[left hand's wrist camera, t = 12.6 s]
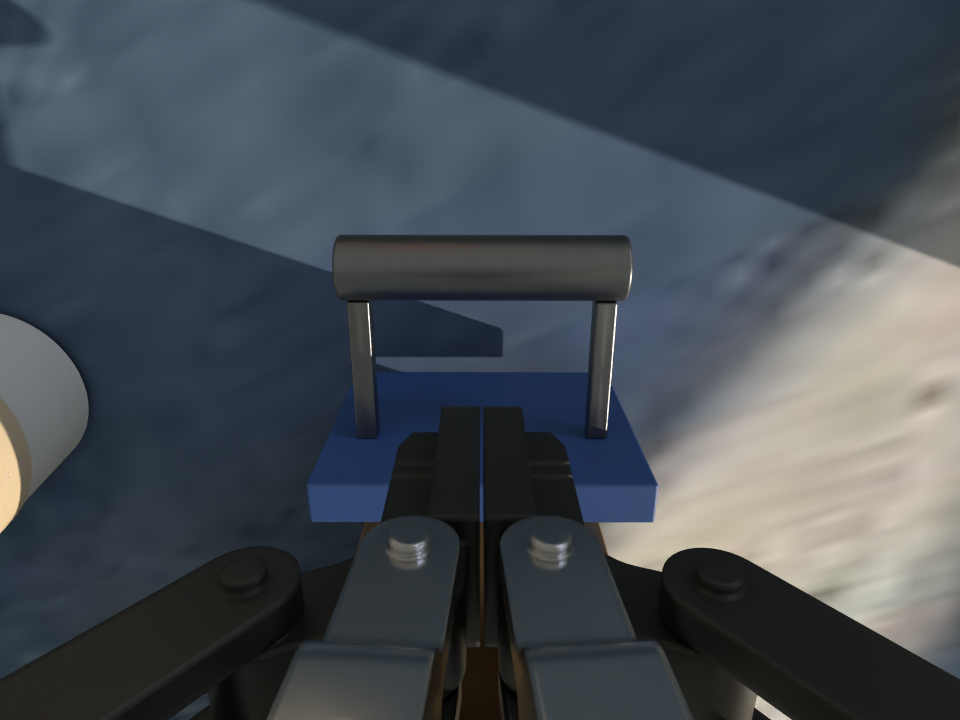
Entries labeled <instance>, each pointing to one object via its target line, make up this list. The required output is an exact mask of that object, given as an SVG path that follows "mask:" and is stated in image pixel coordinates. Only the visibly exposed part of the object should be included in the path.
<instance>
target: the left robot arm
mask: <svg viewBox="0 0 960 720" xmlns="http://www.w3.org/2000/svg"><path fill="white" fill-rule="evenodd" d="M483 544H484V647H498V664H499V671H498V698H499V706H500V714H501V720H770V719H769V718H768V717H766V716H765V715H764V714H762V713H761V712H760V711H758V710H757V709H756V708H754V707H755V702H756V697H757V695H758V696H760V697H761V698H763V699H764V700H765V701H767V702H768V703H770V704H771V705H772V706H774V707H775V708H776V709H778V710H779V711H781V712H782V713H783V714H785V715H786V716H788V717H789V718H790V719H792V720H960V679H958V678H956V677H954V676H953V675H951V674H949V673H947V672H946V671H944V670H942V669H940V668H938V667H937V666H935V665H933V664H931V663H930V662H928V661H926V660H924V659H922V658H921V657H919V656H917V655H915V654H914V653H912V652H910V651H908V650H907V649H905V648H903V647H901V646H899V645H898V644H896V643H894V642H892V641H891V640H889V639H887V638H885V637H883V636H882V635H880V634H878V633H876V632H875V631H873V630H871V629H869V628H867V627H866V626H864V625H862V624H860V623H859V622H857V621H855V620H853V619H851V618H850V617H848V616H846V615H844V614H843V613H841V612H839V611H837V610H835V609H834V608H832V607H830V606H828V605H827V604H825V603H823V602H821V601H819V600H818V599H816V598H814V597H812V596H811V595H809V594H807V593H805V592H803V591H802V590H800V589H798V588H796V587H795V586H793V585H791V584H789V583H787V582H786V581H784V580H782V579H780V578H779V577H777V576H775V575H773V574H771V573H770V572H768V571H766V570H764V569H763V568H761V567H759V566H757V565H755V564H754V563H752V562H750V561H748V560H746V559H744V558H742V557H740V556H738V555H735V554H733V553H730V552H726V551H723V550H718V549H712V548H692V549H686V550H683V551H679V552H677V553H675V554H673V555H672V556H671V557H670V558H668V560H667V561H666V562H665V564H664V566H663V570H662V572H660V571H655V570H651V569H646V568H642V567H637V566H634V565H630V564H626V563H624V562H621V561H618V560H616V559H614V558H612V557H610V556H608V555H607V554H605V553H604V552H603V550H602V547H601V545H600V542H599V540H598V539H597V537H596V536H595V535H594V533H593V532H592V531H591V530H589V529H588V528H587V527H585V525H584V521H583V517H582V513H581V509H580V505H579V501H578V497H577V492H576V488H575V484H574V480H573V479H572V472H571V468H570V465H569V460H568V456H567V452H566V448H565V445H563V444H562V443H561V442H560V441H559V440H558V439H557V438H556V437H555V436H554V435H553V434H552V433H551V432H525V426H524V419H523V411H522V406H483ZM466 647H480V407H441V415H440V423H439V431H438V432H413V433H412V434H411V435H410V436H409V437H407V438H406V439H405V440H404V441H403V442H402V443H401V444H400V445H399V446H398V450H397V454H396V458H395V466H394V467H393V471H392V475H391V480H390V484H389V488H388V492H387V497H386V501H385V505H384V509H383V514H382V518H381V522H380V524H378V525H376V526H375V527H373V528H372V529H371V530H369V531H368V532H367V533H366V535H365V536H364V537H363V539H362V540H361V542H360V545H359V547H358V550H357V553H356V555H355V557H353V558H351V559H349V560H347V561H344V562H342V563H339V564H336V565H332V566H328V567H324V568H320V569H315V570H311V571H306V572H302V573H300V567H299V564H298V562H297V560H296V559H295V558H294V557H293V556H292V555H291V554H290V553H288V552H286V551H284V550H281V549H278V548H273V547H262V546H258V547H248V548H242V549H238V550H235V551H231V552H229V553H226V554H223V555H221V556H219V557H217V558H215V559H213V560H212V561H210V562H208V563H206V564H205V565H203V566H201V567H199V568H197V569H196V570H194V571H192V572H190V573H189V574H187V575H185V576H183V577H181V578H180V579H178V580H176V581H174V582H173V583H171V584H169V585H167V586H165V587H164V588H162V589H160V590H158V591H157V592H155V593H153V594H151V595H149V596H148V597H146V598H144V599H142V600H141V601H139V602H137V603H135V604H133V605H132V606H130V607H128V608H126V609H125V610H123V611H121V612H119V613H117V614H116V615H114V616H112V617H110V618H109V619H107V620H105V621H103V622H101V623H100V624H98V625H96V626H94V627H93V628H91V629H89V630H87V631H85V632H84V633H82V634H80V635H78V636H77V637H75V638H73V639H71V640H70V641H68V642H66V643H64V644H62V645H61V646H59V647H57V648H55V649H54V650H52V651H50V652H48V653H46V654H45V655H43V656H41V657H39V658H38V659H36V660H34V661H32V662H30V663H29V664H27V665H25V666H23V667H22V668H20V669H18V670H16V671H14V672H13V673H11V674H9V675H7V676H6V677H4V678H2V679H0V720H168V719H170V718H171V717H172V716H174V715H175V714H177V713H178V712H179V711H181V710H182V709H184V708H185V707H186V706H188V705H189V704H191V703H192V702H193V701H195V700H196V699H197V698H199V697H200V696H202V695H203V694H204V693H206V692H208V697H209V702H210V705H209V706H207V707H206V708H204V709H203V710H202V711H200V712H199V713H198V714H196V715H195V716H194V717H192V718H191V719H190V720H459V714H460V706H461V698H462V679H463V677H464V674H465V670H466Z"/></svg>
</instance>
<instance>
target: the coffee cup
mask: <svg viewBox="0 0 960 720" xmlns="http://www.w3.org/2000/svg"><path fill="white" fill-rule="evenodd" d="M88 415H89V405H88V397H87V393H86V389H85V386H84V383H83V380H82V378H81V376H80V374H79V372H78V370H77V368H76V367H75V365H74V364H73V362H72V361H71V359H70V358H69V357H68V355H67V354H66V353H65V352H64V351H63V350H62V349H61V348H60V347H59V346H58V345H57V344H56V343H55V342H54V341H53V340H52V339H51V338H49V337H48V336H47V335H45V334H44V333H43V332H41V331H40V330H38V329H36V328H35V327H33V326H31V325H29V324H27V323H25V322H23V321H21V320H19V319H16V318H13V317H10V316H7V315H3V314H0V533H1V532H2V531H3V530H4V529H5V527H6V526H7V525H8V524H9V523H10V522H11V521H12V520H13V519H14V517H15V516H16V515H17V514H18V512H19V511H20V510H21V508H22V506H23V505H24V503H25V501H26V500H27V499H28V498H29V497H30V496H31V495H32V494H33V493H34V492H35V490H36V489H37V488H38V487H39V486H40V485H41V484H42V483H43V482H44V481H45V480H46V479H47V478H48V477H49V475H50V474H51V473H52V472H53V471H54V470H55V469H56V468H57V467H58V466H59V465H60V464H61V463H62V462H63V460H64V459H65V458H66V457H67V456H68V455H69V454H70V453H71V452H72V451H73V450H74V449H75V448H76V446H77V445H78V444H79V442H80V440H81V439H82V437H83V435H84V432H85V430H86V426H87V422H88Z"/></svg>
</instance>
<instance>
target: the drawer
mask: <svg viewBox="0 0 960 720" xmlns="http://www.w3.org/2000/svg"><path fill="white" fill-rule="evenodd" d="M332 271H333V281H334V287H335V291H336V294H337V296H338V298H339V299H341V300H349V301H348V302H347V310H348V323H349V336H350V349H351V362H352V375H353V383H352V385H351V387H350V389H349V391H348V394H347V396H346V398H345V400H344V403H343V405H342V407H341V409H340V411H339V414H338V416H337V418H336V420H335V423H334V425H333V427H332V429H331V431H330V434H329V436H328V438H327V440H326V442H325V445H324V447H323V449H322V451H321V454H320V456H319V458H318V460H317V462H316V465H315V467H314V469H313V471H312V473H311V476H310V478H309V480H308V482H307V485H306V489H307V498H308V507H309V516H310V520H311V521H312V522H364V526H363V530H362V533H361V537H360V540H359V544H358V547H359V545H360V542H361V540H362V539H363V537H364V536H365V535H366V533H367V532H368V531H369V530H371V529H372V528H373V527H375V526H376V525H378V524H380V522H381V518H382V514H383V509H384V505H385V501H386V497H387V492H388V488H389V484H390V480H391V475H392V471H393V467H394V466H395V458H396V454H397V450H398V446H399V445H400V444H401V443H402V442H403V441H404V440H405V439H406V438H407V437H409V436H410V435H411V434H412V433H413V432H438V431H439V423H440V415H441V407H480V647H466V670H465V674H464V677H463V679H462V698H461V706H460V714H459V720H501V714H500V706H499V698H498V671H499V664H498V647H484V544H483V406H522V411H523V419H524V426H525V432H551V433H552V434H553V435H554V436H555V437H556V438H557V439H558V440H559V441H560V442H561V443H562V444H563V445H565V448H566V452H567V456H568V460H569V465H570V468H571V472H572V479H573V480H574V484H575V488H576V492H577V497H578V501H579V505H580V509H581V513H582V517H583V521H584V525H585V527H587V528H588V529H589V530H591V531H592V532H593V533H594V535H595V536H596V537H597V539H598V540H599V542H600V545H601V547H602V550H603V552H604V553H605V554H607V555H608V552H607V548H606V545H605V541H604V537H603V534H602V530H601V527H600V523H599V522H653V521H654V519H655V511H656V503H657V494H658V484H657V482H656V479H655V477H654V475H653V473H652V471H651V469H650V467H649V464H648V462H647V460H646V458H645V456H644V454H643V451H642V449H641V447H640V445H639V443H638V441H637V438H636V436H635V434H634V432H633V430H632V428H631V425H630V423H629V421H628V419H627V417H626V415H625V412H624V410H623V408H622V406H621V404H620V402H619V399H618V397H617V395H616V393H615V391H614V389H613V386H612V384H611V378H612V366H613V354H614V342H615V330H616V318H617V305H618V304H617V302H616V301H623V300H625V299H626V298H627V297H628V294H629V291H630V288H631V283H632V274H633V254H632V247H631V243H630V240H629V238H628V237H627V236H625V235H339V236H337V238H336V240H335V243H334V248H333V257H332ZM372 300H474V301H593V307H592V322H591V337H590V352H589V367H588V373H482V372H376V359H375V342H374V326H373V310H372ZM357 550H358V548H357ZM356 553H357V551H356ZM608 556H609V555H608Z"/></svg>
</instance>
